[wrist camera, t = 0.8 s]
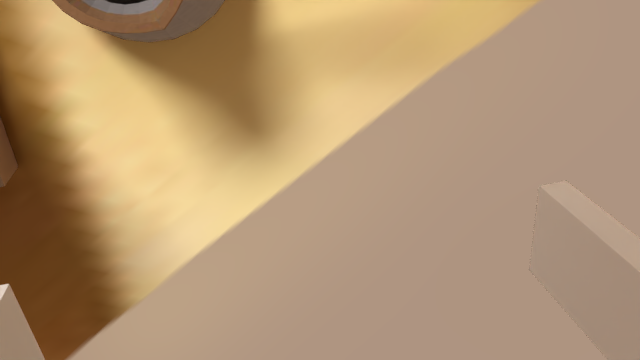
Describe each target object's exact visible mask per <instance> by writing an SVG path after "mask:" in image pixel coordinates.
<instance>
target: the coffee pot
mask: <svg viewBox="0 0 640 360" xmlns="http://www.w3.org/2000/svg"><path fill="white" fill-rule="evenodd" d="M53 1H54V2H55V3H56V5H57V6H58V7H59V8H60V9H61V10H62V11H63V12H65V13H66V14H68V15H69V16H71V17H73V18H74V19H76V20H77V21H79V22H80V23H82V24H84V25H87V26H89V27H92V28H95V29H98V30H100V31H102V32H105V33H108V34H111V35H113V36H116V37H119V38H121V39H125V40H134V41H142V42H155V41H162V40H169V39H175V38H177V37H180V36H182V35H184V34H187V33H189V32H191V31H194V30H196V29H197V28H199V27H200V26H201V25H202V24H204V23H205V22H206V21H207V20H208V19H210V18H211V17H212V16H213V15H215V14H216V12H217V11H218V9H219V8H220V6H221V5H222V4H223V2H224V1H225V0H53Z"/></svg>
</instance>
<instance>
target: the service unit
mask: <svg viewBox="0 0 640 360" xmlns="http://www.w3.org/2000/svg"><path fill="white" fill-rule="evenodd" d="M17 168H18V164H17V162H16V159H15V156H14V153H13V150H12V148H11V145H10V142H9V139H8V137H7V134H6V131H5V128H4V125H3V123H2V120H1V117H0V187H4V186H5V185H6V184H7V182H8V181H9V179H10V178H11V177H12V175H13V174H14V172H15V171H16V170H17Z"/></svg>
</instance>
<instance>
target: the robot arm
mask: <svg viewBox="0 0 640 360" xmlns="http://www.w3.org/2000/svg"><path fill="white" fill-rule="evenodd" d="M529 270H530V271H531V273H532V274H533V275H534V276H535V277H536V278H537V279H538V281H539V282H540V283H541V284H542V285H543V286H544V287H545V289H546V290H547V291H548V292H549V293H550V294H551V295H552V297H553V298H554V299H555V300H556V301H557V302H558V304H560V306H561V307H562V308H563V309H564V310H565V312H566V313H567V314H568V315H569V316H570V317H571V318H572V320H573V321H574V322H575V323H576V324H577V325H578V326H579V328H580V329H581V330H582V331H583V332H584V333H585V334H586V336H588V338H589V339H590V340H591V341H592V342H593V344H594V345H595V346H596V347H597V348H598V349H599V350H600V352H601V353H602V354H603V355H604V356H605V357H606V358H607V359H608V360H640V238H639V237H638V236H637V235H635V234H634V233H633V232H632V231H630V230H629V229H628V228H626V227H625V226H624V225H622V224H621V223H620V222H619V221H617V220H616V219H615V218H613V217H612V216H611V215H610V214H608V213H607V212H606V211H605V210H603V209H602V208H601V207H599V206H598V205H597V204H596V203H594V202H593V201H592V200H590V199H589V198H588V197H587V196H585V195H584V194H583V193H582V192H580V191H579V190H578V189H576V188H575V187H574V186H573V185H571V184H570V183H569V182H567V181H562V182H556V183H550V184H545V185H540V186H539V190H538V198H537V207H536V215H535V224H534V233H533V241H532V250H531V259H530V267H529ZM0 360H45V358H44V356H43V354H42V352H41V350H40V348H39V346H38V344H37V341H36V339H35V337H34V335H33V333H32V331H31V329H30V327H29V325H28V322H27V320H26V318H25V316H24V314H23V312H22V310H21V308H20V306H19V303H18V301H17V299H16V297H15V295H14V293H13V291H12V289H11V287H10V285H9V284H4V285H0Z"/></svg>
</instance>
